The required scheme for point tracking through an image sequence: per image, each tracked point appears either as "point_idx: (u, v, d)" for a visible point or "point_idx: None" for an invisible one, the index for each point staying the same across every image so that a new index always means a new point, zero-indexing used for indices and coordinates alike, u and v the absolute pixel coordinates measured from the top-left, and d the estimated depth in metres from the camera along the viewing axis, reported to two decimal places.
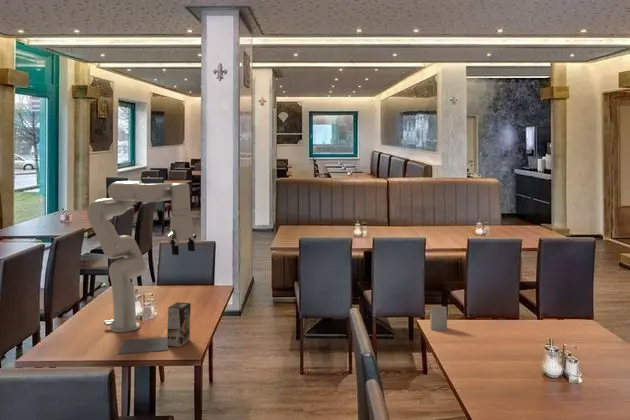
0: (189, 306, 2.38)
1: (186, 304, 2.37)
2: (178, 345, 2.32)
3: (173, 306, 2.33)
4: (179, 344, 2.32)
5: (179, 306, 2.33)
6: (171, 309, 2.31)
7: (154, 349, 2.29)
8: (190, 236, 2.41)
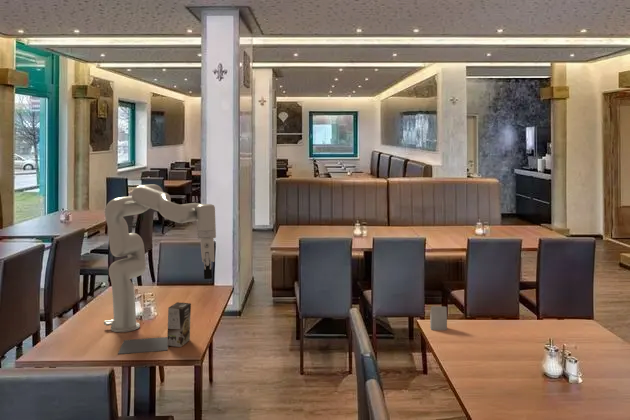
0: (189, 306, 2.38)
1: (186, 304, 2.37)
2: (178, 345, 2.32)
3: (173, 306, 2.33)
4: (179, 344, 2.32)
5: (179, 306, 2.33)
6: (171, 309, 2.31)
7: (154, 349, 2.29)
8: None
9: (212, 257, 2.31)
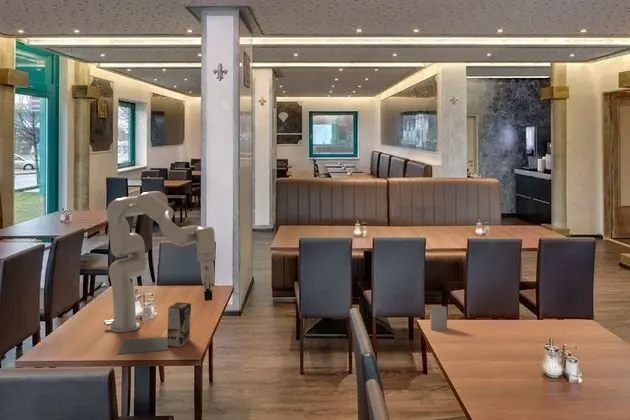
0: (189, 306, 2.38)
1: (186, 304, 2.37)
2: (178, 345, 2.32)
3: (173, 306, 2.33)
4: (179, 344, 2.32)
5: (179, 306, 2.33)
6: (171, 309, 2.31)
7: (154, 349, 2.29)
8: None
9: (212, 280, 2.32)
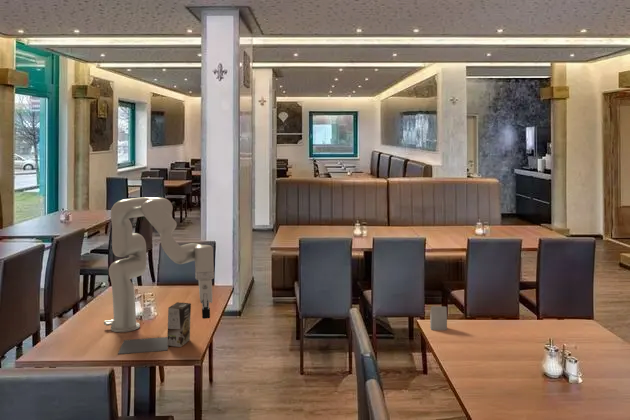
0: (189, 306, 2.38)
1: (186, 304, 2.37)
2: (178, 345, 2.32)
3: (173, 306, 2.33)
4: (179, 344, 2.32)
5: (179, 306, 2.33)
6: (171, 309, 2.31)
7: (154, 349, 2.29)
8: None
9: (210, 298, 2.32)
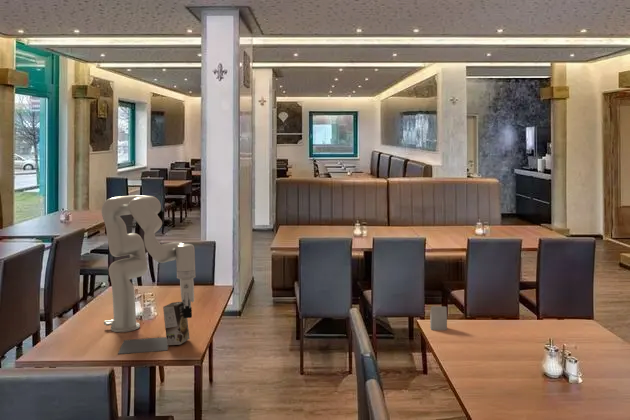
0: None
1: (181, 302, 2.38)
2: (178, 343, 2.32)
3: (168, 305, 2.34)
4: (179, 342, 2.32)
5: (174, 304, 2.34)
6: (166, 308, 2.32)
7: (154, 349, 2.29)
8: None
9: (191, 297, 2.31)
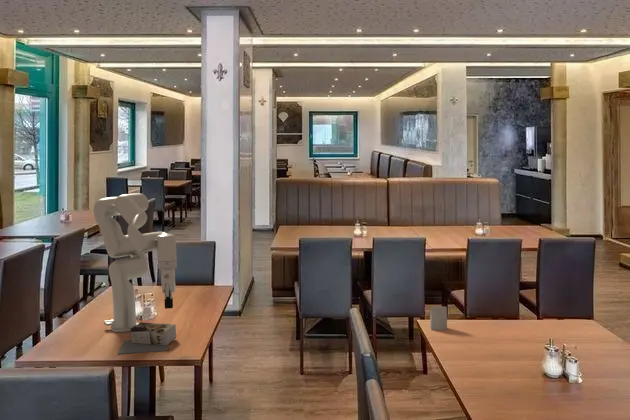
0: (141, 323, 2.43)
1: None
2: (164, 333, 2.33)
3: None
4: (163, 332, 2.33)
5: None
6: (132, 339, 2.36)
7: (154, 349, 2.29)
8: None
9: (172, 288, 2.29)
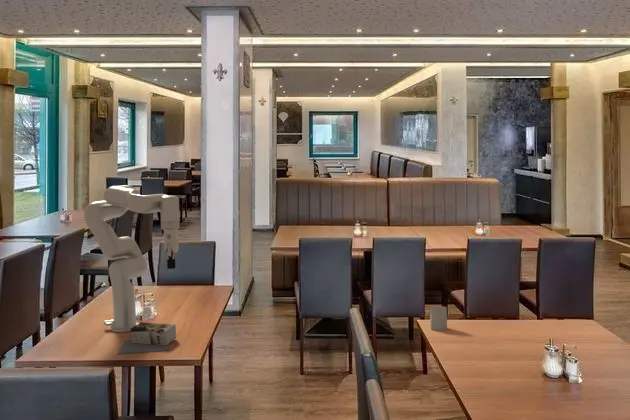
0: (141, 323, 2.43)
1: None
2: (164, 333, 2.33)
3: None
4: (163, 332, 2.33)
5: None
6: (132, 339, 2.36)
7: (154, 349, 2.29)
8: (165, 250, 2.36)
9: (174, 248, 2.34)
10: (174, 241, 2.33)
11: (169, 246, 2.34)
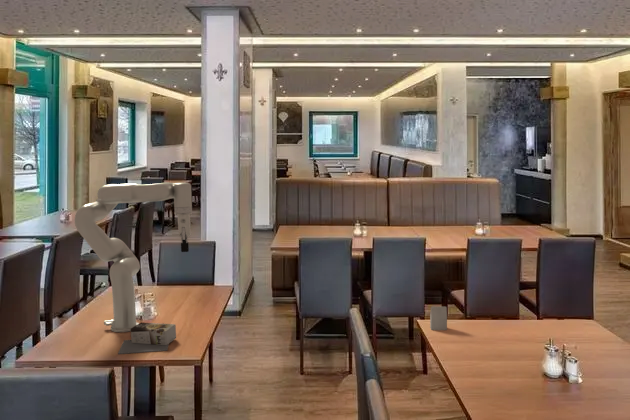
0: (141, 323, 2.43)
1: None
2: (164, 333, 2.33)
3: None
4: (163, 332, 2.33)
5: None
6: (132, 339, 2.36)
7: (154, 349, 2.29)
8: None
9: (188, 232, 2.48)
10: (188, 225, 2.48)
11: (183, 230, 2.48)
